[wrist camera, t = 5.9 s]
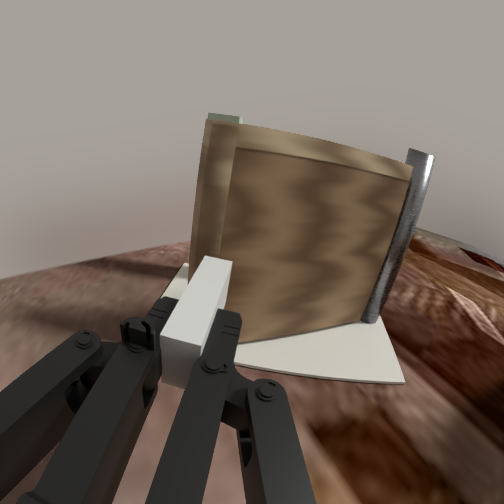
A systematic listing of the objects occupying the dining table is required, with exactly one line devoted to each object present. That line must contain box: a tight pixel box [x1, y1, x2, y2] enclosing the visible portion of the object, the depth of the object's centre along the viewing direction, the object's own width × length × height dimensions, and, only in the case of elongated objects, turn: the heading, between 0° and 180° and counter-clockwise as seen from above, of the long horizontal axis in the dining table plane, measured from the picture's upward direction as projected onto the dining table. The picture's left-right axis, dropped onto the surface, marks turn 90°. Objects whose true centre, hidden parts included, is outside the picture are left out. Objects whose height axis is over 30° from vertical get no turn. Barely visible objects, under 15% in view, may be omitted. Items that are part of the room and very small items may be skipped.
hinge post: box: [360, 148, 435, 324], centre depth 27 cm, size 3×3×19 cm
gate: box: [187, 119, 413, 342], centre depth 22 cm, size 18×2×17 cm, turn 112°
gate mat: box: [160, 263, 405, 384], centre depth 28 cm, size 24×14×1 cm, turn 84°
